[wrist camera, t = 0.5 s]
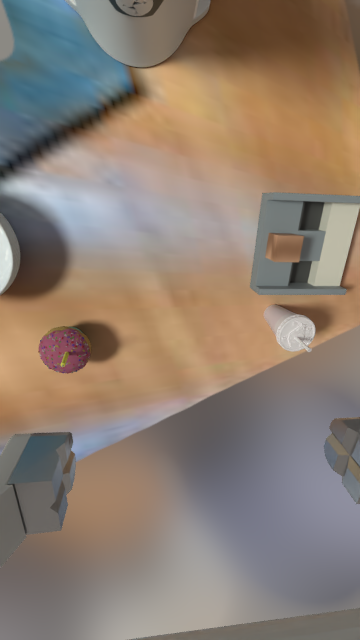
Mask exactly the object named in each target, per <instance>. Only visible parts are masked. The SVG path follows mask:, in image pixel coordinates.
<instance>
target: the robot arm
mask: <svg viewBox="0 0 360 640" xmlns="http://www.w3.org/2000/svg"><path fill="white" fill-rule="evenodd" d="M65 1H66V2H67V3H68V4H69V5H70V6H71V7H72V8H73V9H74V10H75V11H77V12H78V13H79V14H80V16H81V17H82V19H83V20H84V22H85V24H86V26H87V27H88V29H89V31H90V33H91V34H92V36H93V37H94V39H95V40H96V42H97V43H98V44H99V45H100V46H101V48H102V49H103V50H104V51H105V52H106V53H108V54H109V55H110V56H111V57H113V58H114V59H116V60H117V61H119V62H121V63H124V64H126V65H129V66H133V67H149V66H153V65H156V64H159V63H161V62H163V61H164V60H166V59H167V58H168V57H170V56H171V55H172V54H173V53H174V52H175V51H176V49H177V48H178V47H179V45H180V44H181V42H182V41H183V39H184V37H185V35H186V34H187V32H188V30H189V29H190V28H191V26H192V25H194V24H195V23H197V22H198V21H199V20H201V19H202V18H203V17H204V16H205V15H206V14H207V12H208V10H209V7H210V0H65ZM330 430H331V432H332V434H331V435H330V436H328V437H327V438H326V441H325V445H324V451H325V456H326V459H327V461H328V463H329V465H330V466H331V468H332V469H333V470H334V471H335V472H337V473H338V474H340V475H341V476H342V484H343V485H344V487H345V488H346V489H347V491H348V492H349V493H350V495H351V497H352V498H353V499H354V501H355V502H356V504H360V417H352V418H336V419H334V420H333V421H332V422H331V425H330ZM72 444H73V439H72V433H70V432H53V433H33V434H15V435H13V436H12V437H11V438H10V439H9V441H8V443H7V445H6V446H5V448H4V450H3V452H2V453H1V455H0V568H1V567H2V566H3V564H4V563H5V562H6V561H7V559H9V557H10V556H11V555H12V554H13V552H14V551H15V550H16V549H17V548H18V546H19V545H20V544H21V543H22V541H23V540H24V539H25V538H26V535H27V534H36V533H44V532H52V531H61V529H62V525H63V521H64V517H65V514H66V510H67V506H68V503H67V497H66V495H67V494H68V493H69V492H70V491H71V489H72V486H73V482H74V476H75V467H76V465H75V453H73V452H72V451H71V448H72ZM129 640H360V608H356V609H349V610H342V611H335V612H327V613H320V614H312V615H305V616H297V617H290V618H283V619H276V620H268V621H261V622H253V623H247V624H239V625H231V626H224V627H217V628H209V629H203V630H195V631H188V632H180V633H174V634H166V635H158V636H151V637H144V638H136V639H129Z"/></svg>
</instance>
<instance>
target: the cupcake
mask: <svg viewBox="0 0 360 640" xmlns="http://www.w3.org/2000/svg"><path fill="white" fill-rule="evenodd" d="M39 353H40V357H41V359H42V361H43V363H44V364H45V365H47V366H48V367H49V369H53V370H54V371H56V372H61V373H73V372H77V371H78V370H80V369H83V367H84V366H85V365H86V363H87V362H88V360H89V357H90V355H91V344H90V342H89V340H88V337H87V336H86V335H84V334H83V333H82V331H80V330H79V329H77V328H75V327H65V326H63V327H57V328H53V329H51V330H50V331H49V332H47V333H46V335H44V336H43V338H42V339H41V340H40V345H39Z"/></svg>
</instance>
